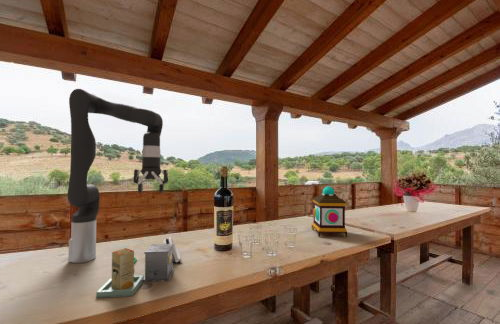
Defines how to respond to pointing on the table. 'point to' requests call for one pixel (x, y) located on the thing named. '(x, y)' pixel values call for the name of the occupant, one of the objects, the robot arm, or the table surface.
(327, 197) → the decorative lantern
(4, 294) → the table surface
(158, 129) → the robot arm
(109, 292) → the tray
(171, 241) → the white piece
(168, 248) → the box
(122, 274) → the shoe polish box
